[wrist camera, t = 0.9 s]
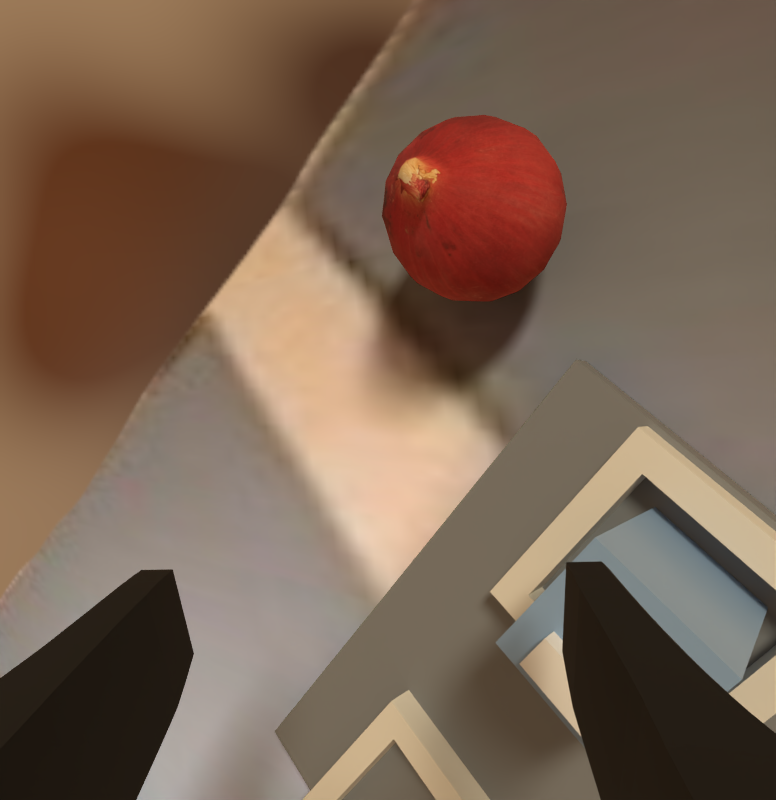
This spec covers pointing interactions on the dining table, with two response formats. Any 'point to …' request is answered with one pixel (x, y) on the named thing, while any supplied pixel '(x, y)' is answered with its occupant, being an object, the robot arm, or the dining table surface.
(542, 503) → the panel
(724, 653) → the plug
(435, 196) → the red pomegranate
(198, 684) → the dining table surface
